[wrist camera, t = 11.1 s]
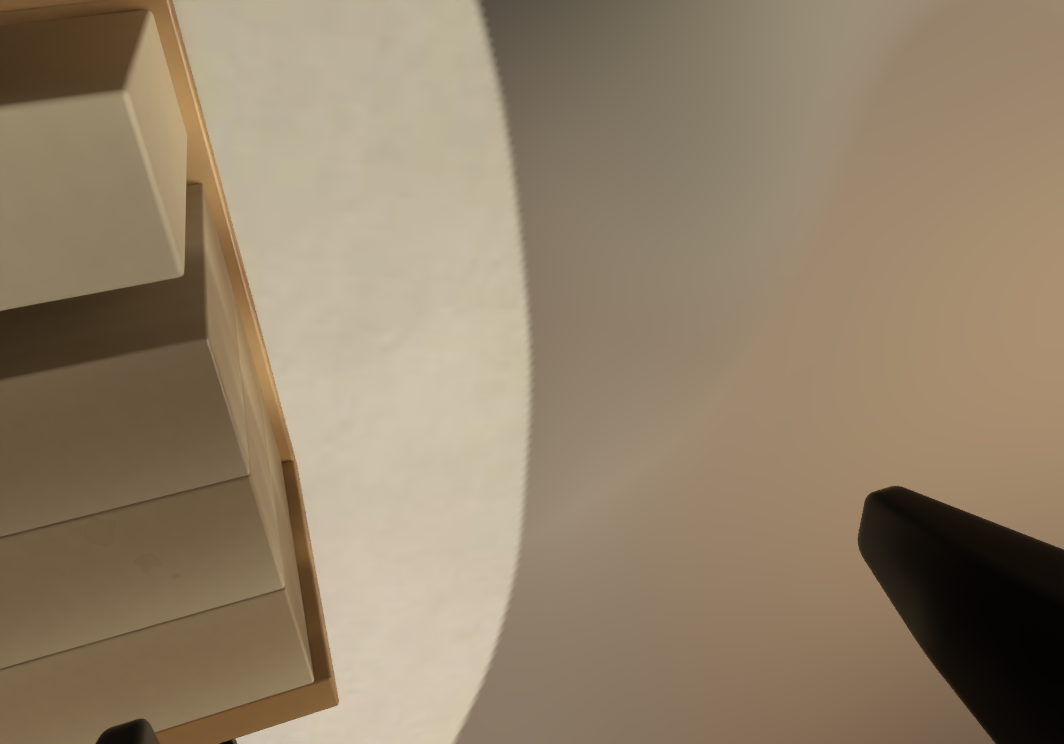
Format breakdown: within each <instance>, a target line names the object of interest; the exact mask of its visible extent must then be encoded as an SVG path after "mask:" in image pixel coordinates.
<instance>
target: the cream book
mask: <svg viewBox="0 0 1064 744" xmlns="http://www.w3.org/2000/svg"><path fill="white" fill-rule="evenodd" d="M186 169H187V133H186V130H185V126H184V123H183V119H182V116H181V112H180V108H179V105H178V101H177V98H176V94H175V91H174V87H173V83H172V80H171V76H170V73H169V69H168V66H167V62H166V58H165V55H164V51H163V48H162V44H161V41H160V37H159V33H158V30H157V26H156V23H155V19H154V16H153V14H152V12H151V11H149V10H138V11H129V12H120V13H111V14H102V15H93V16H84V17H75V18H66V19H56V20H47V21H38V22H29V23H20V24H11V25H2V26H0V311H2V310H7V309H13V308H18V307H23V306H29V305H34V304H39V303H45V302H50V301H55V300H61V299H66V298H72V297H77V296H82V295H88V294H93V293H98V292H104V291H109V290H114V289H120V288H125V287H130V286H136V285H141V284H146V283H152V282H157V281H163V280H168V279H173V278H179V277H181V276H182V275H184V267H185V218H186Z"/></svg>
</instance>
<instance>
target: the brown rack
mask: <svg viewBox="0 0 1064 744" xmlns="http://www.w3.org/2000/svg"><path fill="white" fill-rule="evenodd" d="M138 10H149V11H151V12H152V14H153V16H154V19H155V23H156V26H157V30H158V33H159V37H160V41H161V44H162V48H163V51H164V55H165V58H166V62H167V66H168V69H169V73H170V76H171V80H172V83H173V87H174V91H175V94H176V98H177V101H178V105H179V108H180V112H181V116H182V119H183V123H184V126H185V130H186V133H187V169H186V218H185V267H184V275H182V276H181V277H179V278H173V279H168V280H163V281H157V282H152V283H146V284H141V285H136V286H130V287H125V288H120V289H114V290H109V291H104V292H98V293H93V294H88V295H82V296H77V297H72V298H66V299H61V300H55V301H50V302H45V303H39V304H34V305H29V306H23V307H18V308H13V309H7V310H2V311H0V744H95V743H96V742H97V740H98V738H99V737H100V735H101V734H102V733H103V732H104V731H105V730H106V729H108V728H110V727H113V726H116V725H119V724H123V723H126V722H129V721H132V720H136V719H142V718H143V719H146V720H147V721H148V722H149V723H150V725H151V726H152V728H153V730H154V732H155V734H156V736H157V739H158V741H159V743H160V744H219V743H222V742H225V741H229V740H232V739H235V738H238V737H241V736H244V735H247V734H250V733H253V732H256V731H259V730H263V729H266V728H269V727H272V726H275V725H278V724H281V723H284V722H287V721H290V720H293V719H297V718H300V717H303V716H306V715H309V714H312V713H315V712H318V711H321V710H324V709H328V708H331V707H334V706H337V705H338V703H339V699H338V693H337V688H336V682H335V676H334V671H333V665H332V659H331V654H330V648H329V642H328V637H327V631H326V625H325V620H324V614H323V608H322V603H321V597H320V591H319V586H318V580H317V574H316V569H315V563H314V557H313V552H312V546H311V540H310V535H309V529H308V523H307V518H306V512H305V506H304V501H303V495H302V489H301V484H300V478H299V473H298V467H297V463H296V459H295V455H294V452H293V448H292V444H291V440H290V437H289V433H288V429H287V425H286V422H285V418H284V414H283V411H282V407H281V403H280V399H279V396H278V392H277V388H276V385H275V381H274V377H273V373H272V370H271V366H270V362H269V358H268V355H267V351H266V347H265V344H264V340H263V336H262V332H261V329H260V325H259V321H258V318H257V314H256V310H255V306H254V303H253V299H252V295H251V291H250V288H249V284H248V280H247V277H246V273H245V269H244V265H243V262H242V258H241V254H240V251H239V247H238V243H237V239H236V236H235V232H234V228H233V224H232V221H231V217H230V213H229V210H228V206H227V202H226V198H225V195H224V191H223V187H222V184H221V180H220V176H219V172H218V169H217V165H216V161H215V157H214V154H213V150H212V146H211V143H210V139H209V135H208V131H207V128H206V124H205V120H204V117H203V113H202V109H201V105H200V102H199V98H198V94H197V90H196V87H195V83H194V79H193V76H192V72H191V68H190V64H189V61H188V57H187V53H186V50H185V46H184V42H183V38H182V35H181V31H180V27H179V23H178V20H177V16H176V12H175V9H174V5H173V1H172V0H0V26H2V25H11V24H20V23H29V22H38V21H47V20H56V19H66V18H75V17H84V16H93V15H102V14H111V13H120V12H129V11H138Z"/></svg>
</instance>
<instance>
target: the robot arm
mask: <svg viewBox="0 0 1064 744" xmlns="http://www.w3.org/2000/svg"><path fill="white" fill-rule="evenodd" d="M858 546H859V550H860V552H861V555H862V557H863V558H864V560H865V562H866V563H867V565H868V566H869V568H870V569H871V570H872V572H873V574H874V576H875V577H876V579H877V580H878V582H879V583H880V585H881V586H882V588H883V590H884V591H885V592H886V594H887V596H888V597H889V599H890V601H891V602H892V604H893V605H894V607H895V608H896V610H897V611H898V613H899V615H900V616H901V618H902V619H903V621H904V622H905V624H906V625H907V627H908V629H909V630H910V632H911V633H912V635H913V636H914V638H915V639H916V641H917V642H918V644H919V645H920V647H921V648H922V649H923V651H924V652H925V654H926V655H927V657H928V658H929V659H930V661H931V662H932V663H933V665H934V666H935V667H936V669H937V670H938V671H939V672H940V674H941V675H942V676H943V678H944V679H945V680H946V681H947V683H949V685H950V686H951V688H952V689H953V690H954V692H955V693H956V694H957V695H958V697H959V698H960V699H961V700H962V702H963V703H964V704H965V705H966V707H967V708H968V709H969V710H970V712H971V713H972V714H973V716H974V717H975V718H976V719H977V721H978V722H979V723H980V725H981V726H982V727H983V728H984V730H985V731H986V732H987V733H988V735H989V736H990V737H991V738H992V740H993V741H994V742H995V744H1064V550H1063V549H1061V548H1058V547H1055V546H1053V545H1050V544H1048V543H1045V542H1043V541H1040V540H1037V539H1035V538H1032V537H1029V536H1027V535H1025V534H1022V533H1019V532H1016V531H1014V530H1011V529H1009V528H1007V527H1004V526H1001V525H998V524H996V523H994V522H991V521H988V520H986V519H983V518H981V517H978V516H976V515H973V514H970V513H968V512H965V511H963V510H960V509H958V508H955V507H952V506H950V505H947V504H944V503H942V502H940V501H937V500H935V499H932V498H929V497H927V496H924V495H922V494H919V493H917V492H914V491H911V490H909V489H906V488H903V487H899V486H891V487H888V488H884V489H882V490H878V491H875V492H872V493H870V494H869V495H868V496H867V498H866V500H865V503H864V508H863V513H862V518H861V523H860V528H859V533H858ZM95 744H160V743H159V741H158V739H157V736H156V734H155V732H154V730H153V728H152V726H151V725H150V723H149V722H148V721H147V720H146V719H143V718H142V719H136V720H132V721H129V722H126V723H123V724H119V725H116V726H113V727H110V728H108V729H106V730H105V731H104V732H103V733H102V734H101V735H100V737H99V738H98V740H97V742H96V743H95ZM219 744H237V742H236V740H235V739H232V740H229V741H225V742H222V743H219Z"/></svg>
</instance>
